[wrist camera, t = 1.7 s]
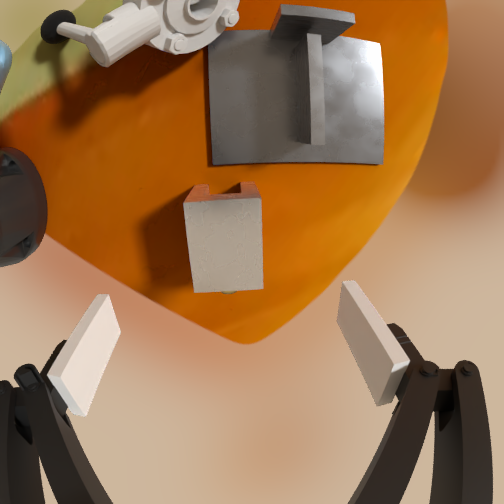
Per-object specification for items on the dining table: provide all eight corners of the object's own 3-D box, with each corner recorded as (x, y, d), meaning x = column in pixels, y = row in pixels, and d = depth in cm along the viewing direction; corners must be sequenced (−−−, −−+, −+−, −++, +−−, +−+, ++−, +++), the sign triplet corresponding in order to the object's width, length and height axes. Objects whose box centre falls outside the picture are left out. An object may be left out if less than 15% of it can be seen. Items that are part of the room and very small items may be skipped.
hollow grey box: (202, 261, 32) (195, 297, 25) (195, 185, 29) (183, 202, 22) (256, 258, 32) (263, 293, 26) (254, 181, 29) (261, 198, 22)
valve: (251, 30, 22) (118, 111, 19) (152, 4, 26) (55, 65, 23) (248, -60, 12) (66, 7, 9) (137, -54, 16) (22, 6, 13)
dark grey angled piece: (213, 164, 28) (206, 175, 21) (208, 33, 22) (201, 5, 15) (380, 163, 29) (418, 175, 22) (377, 44, 23) (414, 28, 16)
